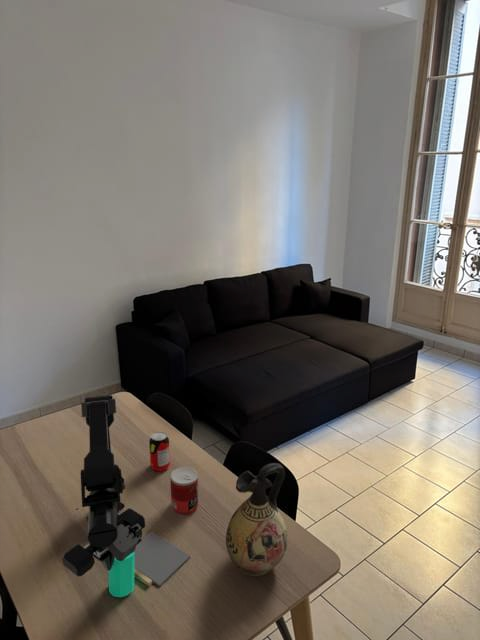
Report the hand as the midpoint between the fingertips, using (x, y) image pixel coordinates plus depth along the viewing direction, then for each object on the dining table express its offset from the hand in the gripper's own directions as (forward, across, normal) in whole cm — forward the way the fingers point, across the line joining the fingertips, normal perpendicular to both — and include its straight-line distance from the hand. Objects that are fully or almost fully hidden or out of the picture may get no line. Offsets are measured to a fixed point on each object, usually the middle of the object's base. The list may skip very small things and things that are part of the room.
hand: (108, 569), depth 110 cm
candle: (+9, +4, 0) cm, 10 cm away
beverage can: (+8, +42, +26) cm, 51 cm away
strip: (+9, +8, 0) cm, 12 cm away
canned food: (+8, +34, +8) cm, 35 cm away
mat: (+9, +15, 0) cm, 17 cm away
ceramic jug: (+9, +30, -22) cm, 38 cm away
